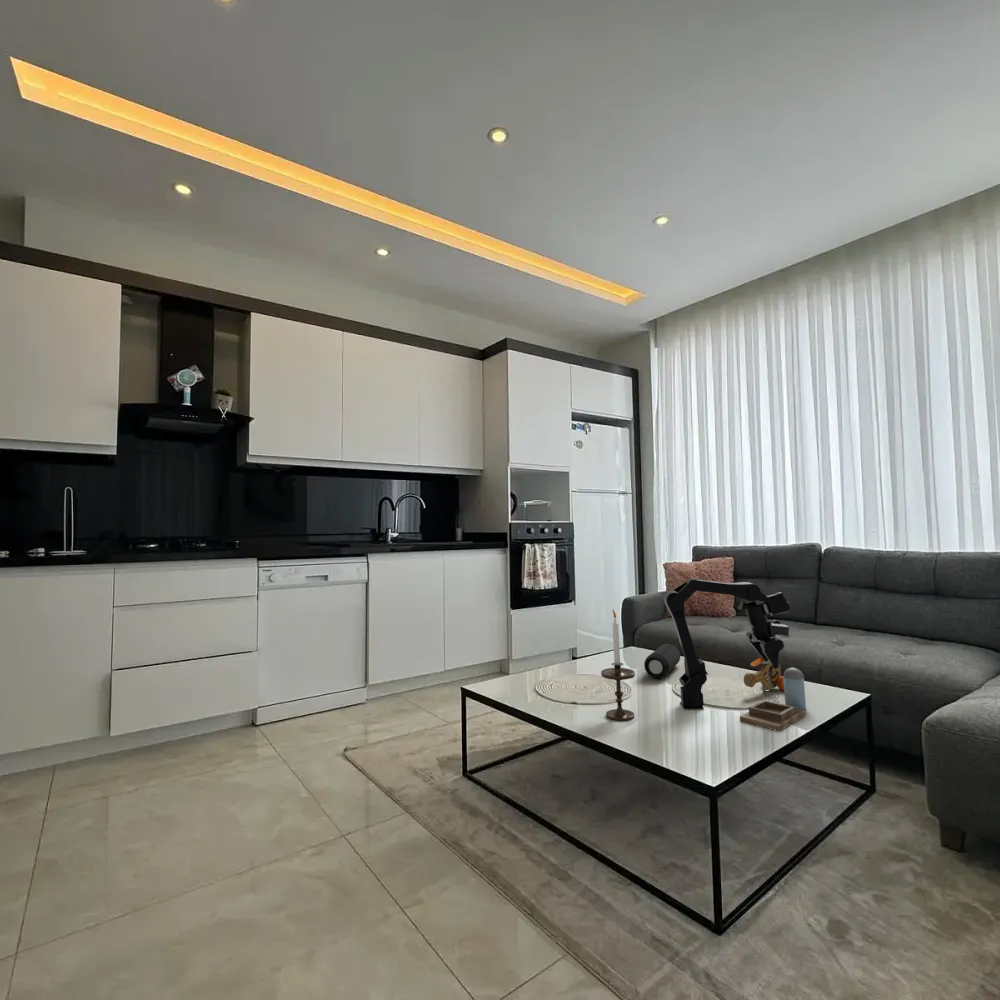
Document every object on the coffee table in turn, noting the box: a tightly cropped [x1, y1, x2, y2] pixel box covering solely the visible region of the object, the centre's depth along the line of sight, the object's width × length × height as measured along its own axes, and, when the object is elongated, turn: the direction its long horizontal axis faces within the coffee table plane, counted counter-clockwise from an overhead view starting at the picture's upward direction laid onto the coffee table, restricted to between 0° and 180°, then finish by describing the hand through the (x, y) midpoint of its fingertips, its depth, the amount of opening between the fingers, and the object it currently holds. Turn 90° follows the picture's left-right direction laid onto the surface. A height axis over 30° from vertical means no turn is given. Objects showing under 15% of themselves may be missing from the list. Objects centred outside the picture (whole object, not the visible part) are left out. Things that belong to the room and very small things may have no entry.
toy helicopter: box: [743, 656, 784, 691], centre depth 201 cm, size 8×21×14 cm, turn 123°
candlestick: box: [600, 608, 636, 722], centre depth 183 cm, size 11×11×35 cm
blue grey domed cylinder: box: [782, 667, 807, 711], centre depth 184 cm, size 6×6×13 cm
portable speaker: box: [643, 643, 681, 679], centre depth 233 cm, size 26×10×10 cm, turn 150°
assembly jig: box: [739, 699, 806, 731], centre depth 175 cm, size 18×12×4 cm, turn 129°
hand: (771, 664), depth 186 cm, fingers open, 9 cm apart
